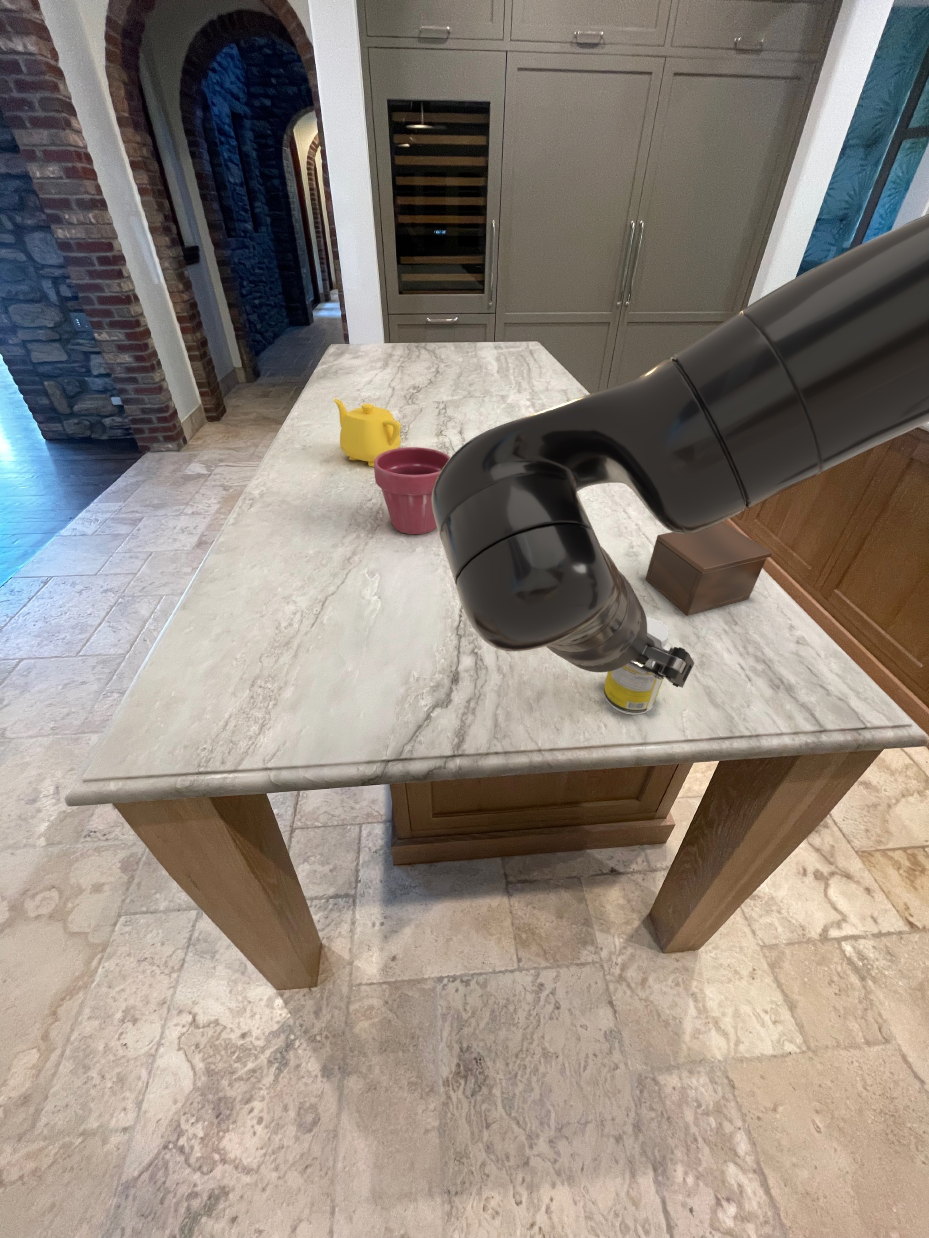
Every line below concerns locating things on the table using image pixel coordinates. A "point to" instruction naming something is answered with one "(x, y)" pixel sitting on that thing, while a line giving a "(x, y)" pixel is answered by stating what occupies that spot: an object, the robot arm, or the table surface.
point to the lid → (714, 547)
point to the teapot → (367, 432)
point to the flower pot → (409, 486)
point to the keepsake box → (700, 581)
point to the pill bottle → (635, 680)
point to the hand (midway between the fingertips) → (622, 650)
